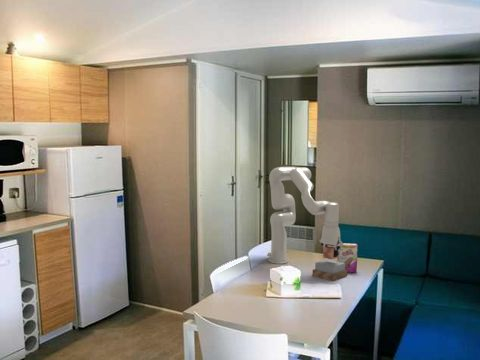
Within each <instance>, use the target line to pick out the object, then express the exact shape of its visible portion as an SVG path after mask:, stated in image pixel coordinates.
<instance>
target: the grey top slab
mask: <svg viewBox="0 0 480 360" xmlns="http://www.w3.org/2000/svg"><path fill="white" fill-rule="evenodd" d="M314 265H315V266H314V267H315V268H314V269H315V270H318V271H322V272H326V273H330V274H335V273H338V272H341V271H344V270H345V263H342V262H337V261H336V260H334V259H328V258H325V259H323V260H320V261H317V262H315V264H314Z"/></svg>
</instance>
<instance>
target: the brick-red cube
mask: <svg viewBox="0 0 480 360" xmlns="http://www.w3.org/2000/svg"><path fill="white" fill-rule="evenodd" d="M322 250H323V253H322V254H323V255H322V258H323V259H328V260H335V259H337V258H338V256H337V257H334V250H335V248H334V245H328V246H326V247H323V246H322Z"/></svg>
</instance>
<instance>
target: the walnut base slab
mask: <svg viewBox="0 0 480 360" xmlns="http://www.w3.org/2000/svg"><path fill="white" fill-rule="evenodd" d="M311 276H312V277H315V278H319V279H322V280H323V279H324V280H328V281H331V282H335V281H338V280H341V279H343V278H346V277H348V272H347V270H344V271H341V272H338V273H335V274H330V273H326V272H322V271H318V270H315V268H314V269H312V275H311Z"/></svg>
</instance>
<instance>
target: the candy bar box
mask: <svg viewBox="0 0 480 360" xmlns="http://www.w3.org/2000/svg"><path fill="white" fill-rule="evenodd" d="M342 243H343V242H342ZM339 245H340V244H338V246H339ZM358 249H359V246H358V244H357V243H345V242H344V243H343V246H342V247H341V248H340V249H339V250H338V258H336V259H337V262H342V263H345V270H347V273H352V274H353V273H355V274H356V273H357V270H358V269H357V268H358V254H359V253H358Z"/></svg>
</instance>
